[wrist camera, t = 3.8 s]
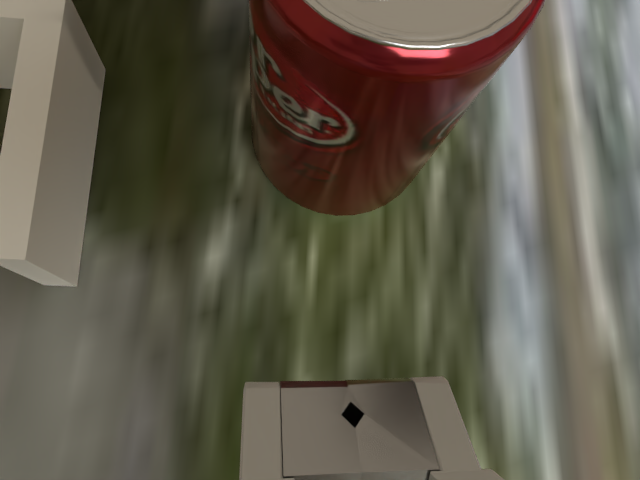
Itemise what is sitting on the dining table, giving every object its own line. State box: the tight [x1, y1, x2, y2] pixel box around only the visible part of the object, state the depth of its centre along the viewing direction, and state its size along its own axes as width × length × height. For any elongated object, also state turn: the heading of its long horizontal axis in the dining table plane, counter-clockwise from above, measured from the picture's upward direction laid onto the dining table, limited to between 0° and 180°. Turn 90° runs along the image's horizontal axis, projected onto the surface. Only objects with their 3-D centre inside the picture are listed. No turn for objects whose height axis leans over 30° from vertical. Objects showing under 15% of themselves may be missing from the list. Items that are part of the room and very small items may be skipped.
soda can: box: [249, 0, 545, 216], centre depth 18 cm, size 7×7×12 cm
